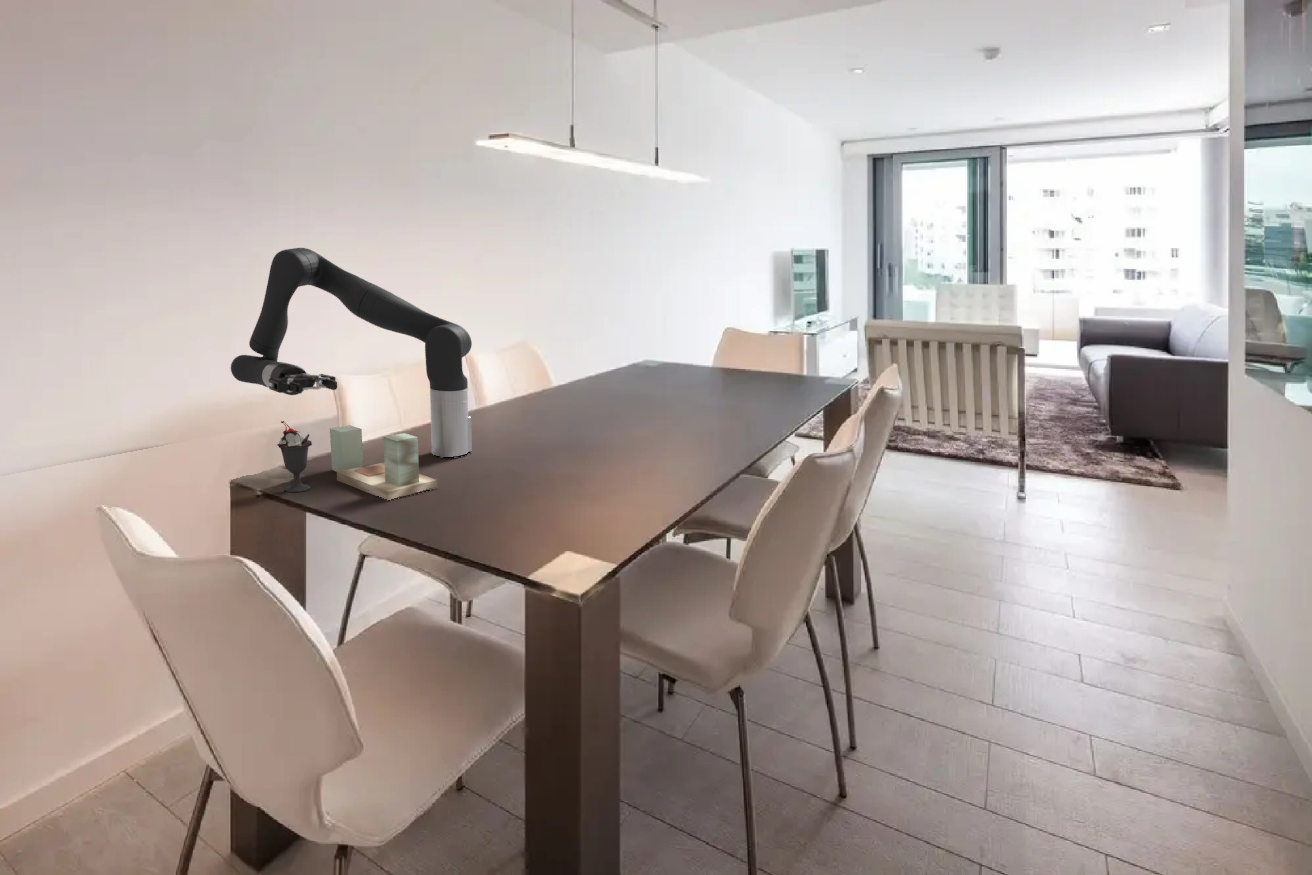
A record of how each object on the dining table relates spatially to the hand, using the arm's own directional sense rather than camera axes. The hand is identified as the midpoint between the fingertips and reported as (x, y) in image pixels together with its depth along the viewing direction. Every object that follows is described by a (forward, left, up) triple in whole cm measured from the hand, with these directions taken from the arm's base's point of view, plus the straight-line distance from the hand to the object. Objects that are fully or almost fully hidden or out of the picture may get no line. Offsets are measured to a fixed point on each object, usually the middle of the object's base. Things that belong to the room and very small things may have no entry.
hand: (318, 387), depth 174 cm
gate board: (0, +27, -18) cm, 33 cm away
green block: (0, +11, -18) cm, 21 cm away
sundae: (+15, +17, -18) cm, 29 cm away
